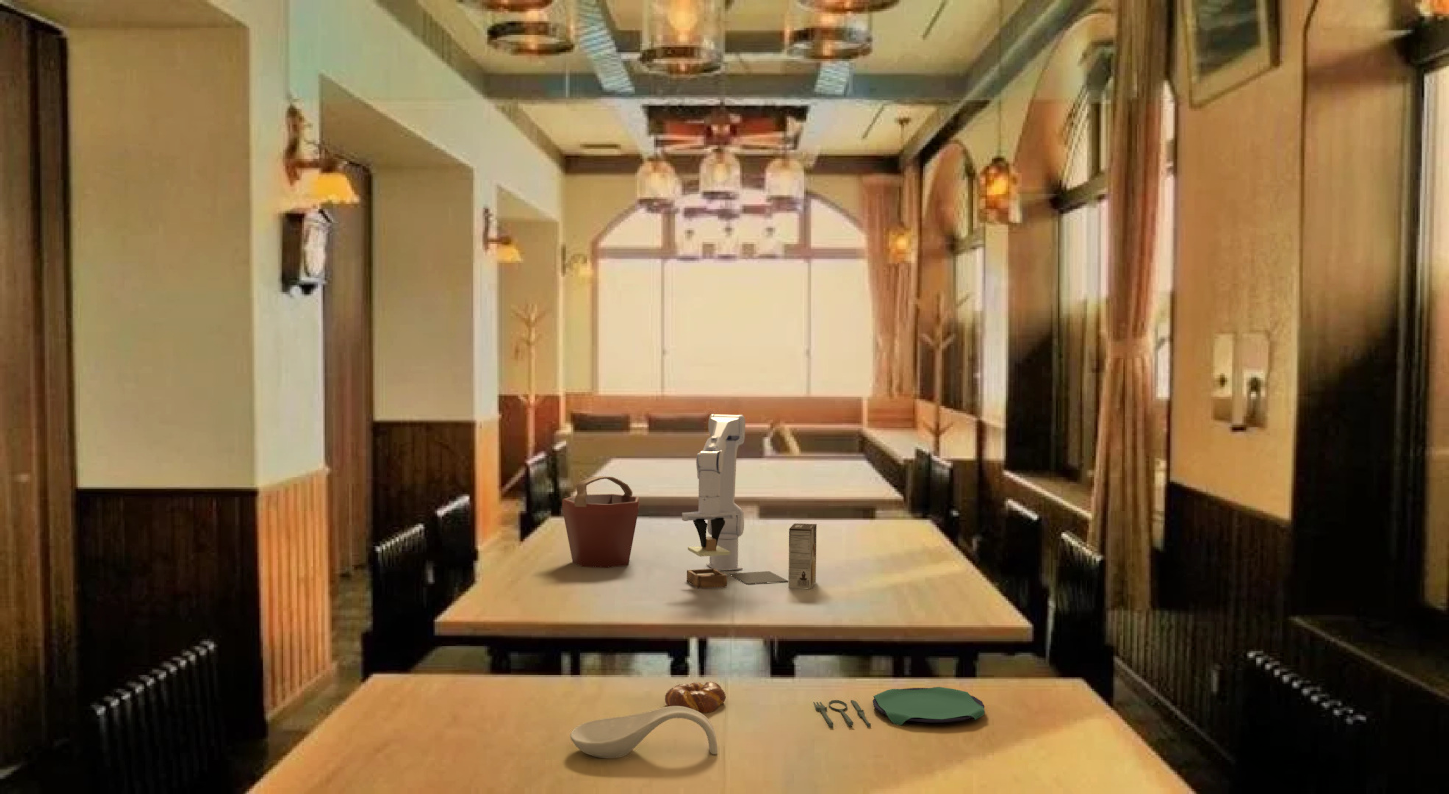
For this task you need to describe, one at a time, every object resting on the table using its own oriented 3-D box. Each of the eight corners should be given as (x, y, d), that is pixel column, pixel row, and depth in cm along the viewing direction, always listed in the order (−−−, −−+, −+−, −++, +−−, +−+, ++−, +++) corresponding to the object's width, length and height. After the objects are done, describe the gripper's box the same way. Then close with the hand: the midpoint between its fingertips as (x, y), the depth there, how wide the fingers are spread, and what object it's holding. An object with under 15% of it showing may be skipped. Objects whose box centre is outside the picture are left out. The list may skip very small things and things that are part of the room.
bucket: (587, 573, 341) (587, 483, 339) (544, 561, 357) (544, 476, 356) (656, 562, 357) (657, 477, 355) (612, 552, 373) (612, 470, 372)
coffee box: (792, 581, 332) (793, 522, 331) (816, 582, 331) (817, 523, 330) (787, 588, 323) (788, 528, 322) (811, 589, 322) (812, 529, 321)
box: (686, 581, 331) (686, 570, 331) (714, 579, 334) (714, 568, 334) (698, 588, 322) (698, 577, 322) (726, 586, 324) (726, 575, 324)
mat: (729, 574, 340) (729, 573, 340) (769, 572, 344) (769, 571, 344) (746, 584, 327) (746, 583, 327) (788, 582, 331) (788, 581, 331)
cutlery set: (999, 728, 211) (999, 715, 211) (827, 735, 208) (827, 722, 208) (965, 695, 230) (965, 683, 230) (808, 702, 228) (808, 689, 227)
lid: (687, 549, 329) (688, 535, 329) (717, 548, 332) (717, 534, 332) (699, 556, 320) (700, 542, 319) (730, 554, 322) (730, 540, 322)
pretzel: (694, 692, 230) (694, 673, 230) (739, 704, 224) (740, 684, 223) (651, 707, 221) (651, 686, 221) (697, 719, 214) (697, 698, 214)
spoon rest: (568, 766, 191) (568, 721, 190) (572, 741, 202) (572, 698, 202) (719, 764, 192) (720, 719, 192) (714, 739, 204) (715, 697, 204)
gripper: (687, 498, 319) (687, 550, 320) (740, 497, 324) (739, 547, 324) (679, 495, 325) (679, 545, 326) (731, 493, 330) (730, 543, 331)
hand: (708, 546), depth 326 cm, fingers closed on lid, 2 cm apart
